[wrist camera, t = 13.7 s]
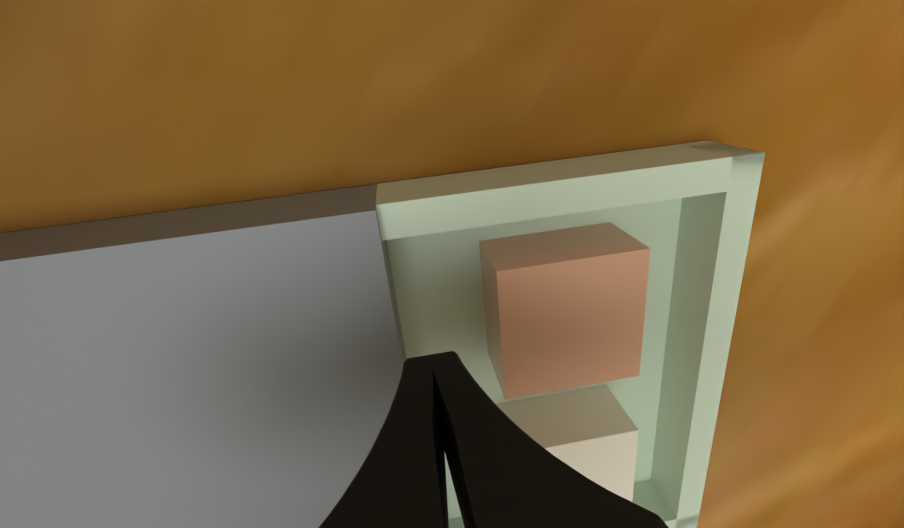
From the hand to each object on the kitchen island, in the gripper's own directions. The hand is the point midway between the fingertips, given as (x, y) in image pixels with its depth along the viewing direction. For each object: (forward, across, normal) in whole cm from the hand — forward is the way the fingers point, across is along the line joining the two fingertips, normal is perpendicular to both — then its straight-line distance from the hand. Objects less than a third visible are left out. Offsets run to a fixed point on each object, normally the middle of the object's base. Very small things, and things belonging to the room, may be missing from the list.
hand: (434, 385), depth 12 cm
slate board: (+4, +9, +3) cm, 10 cm away
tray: (+4, -5, +3) cm, 7 cm away
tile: (+1, -5, +7) cm, 8 cm away
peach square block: (+1, -4, 0) cm, 5 cm away
